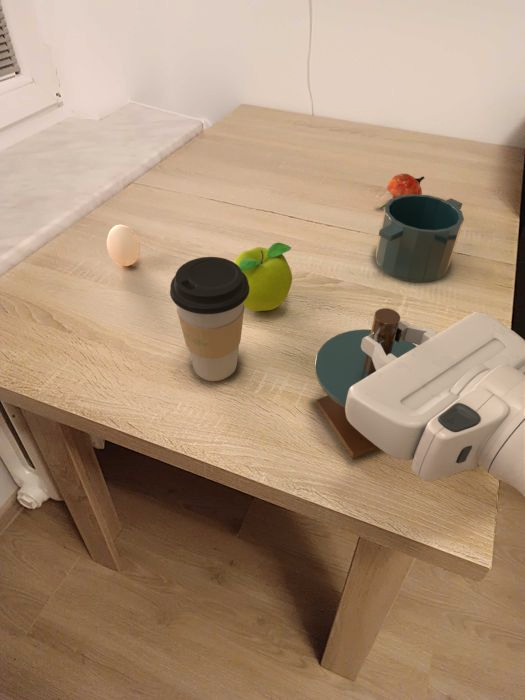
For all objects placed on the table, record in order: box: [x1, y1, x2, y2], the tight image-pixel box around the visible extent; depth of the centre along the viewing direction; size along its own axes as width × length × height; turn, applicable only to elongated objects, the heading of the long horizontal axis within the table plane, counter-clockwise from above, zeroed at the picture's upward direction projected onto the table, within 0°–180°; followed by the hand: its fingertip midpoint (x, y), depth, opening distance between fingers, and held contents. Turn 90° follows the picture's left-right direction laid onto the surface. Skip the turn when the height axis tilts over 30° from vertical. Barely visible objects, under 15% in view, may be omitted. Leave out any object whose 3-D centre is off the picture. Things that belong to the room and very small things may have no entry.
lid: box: [314, 307, 418, 407], centre depth 54 cm, size 13×13×9 cm
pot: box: [375, 194, 465, 283], centre depth 84 cm, size 12×18×10 cm
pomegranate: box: [379, 173, 425, 210], centre depth 99 cm, size 7×7×10 cm
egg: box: [106, 224, 141, 267], centre depth 84 cm, size 5×5×7 cm
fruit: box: [233, 242, 293, 312], centre depth 75 cm, size 9×9×10 cm
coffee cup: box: [169, 256, 249, 382], centre depth 63 cm, size 9×9×15 cm
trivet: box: [315, 395, 381, 460], centre depth 62 cm, size 9×9×1 cm
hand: (379, 332), depth 53 cm, fingers closed on lid, 2 cm apart
